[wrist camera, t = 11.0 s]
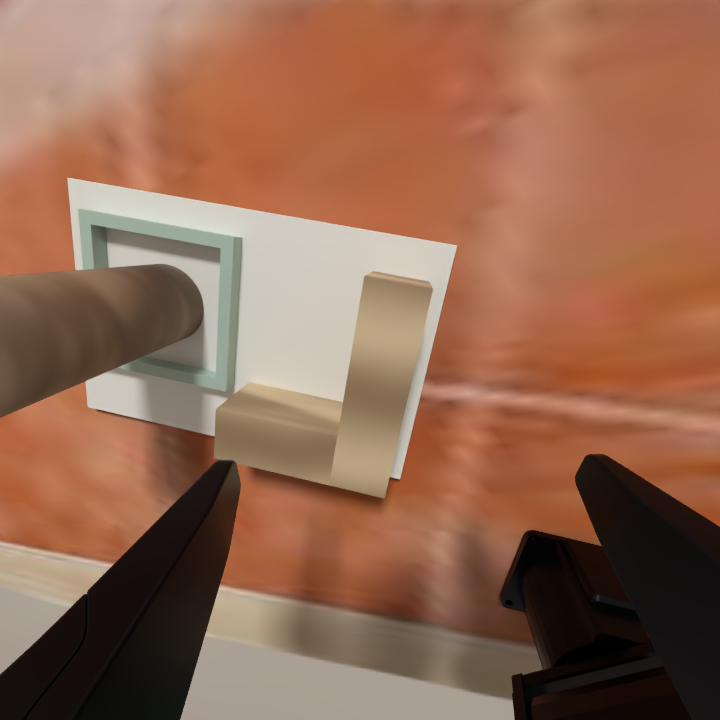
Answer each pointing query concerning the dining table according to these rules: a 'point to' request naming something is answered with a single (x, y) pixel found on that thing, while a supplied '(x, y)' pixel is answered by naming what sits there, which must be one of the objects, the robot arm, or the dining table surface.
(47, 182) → the dining table surface
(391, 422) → the tan l-shaped block
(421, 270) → the board
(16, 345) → the walnut column
